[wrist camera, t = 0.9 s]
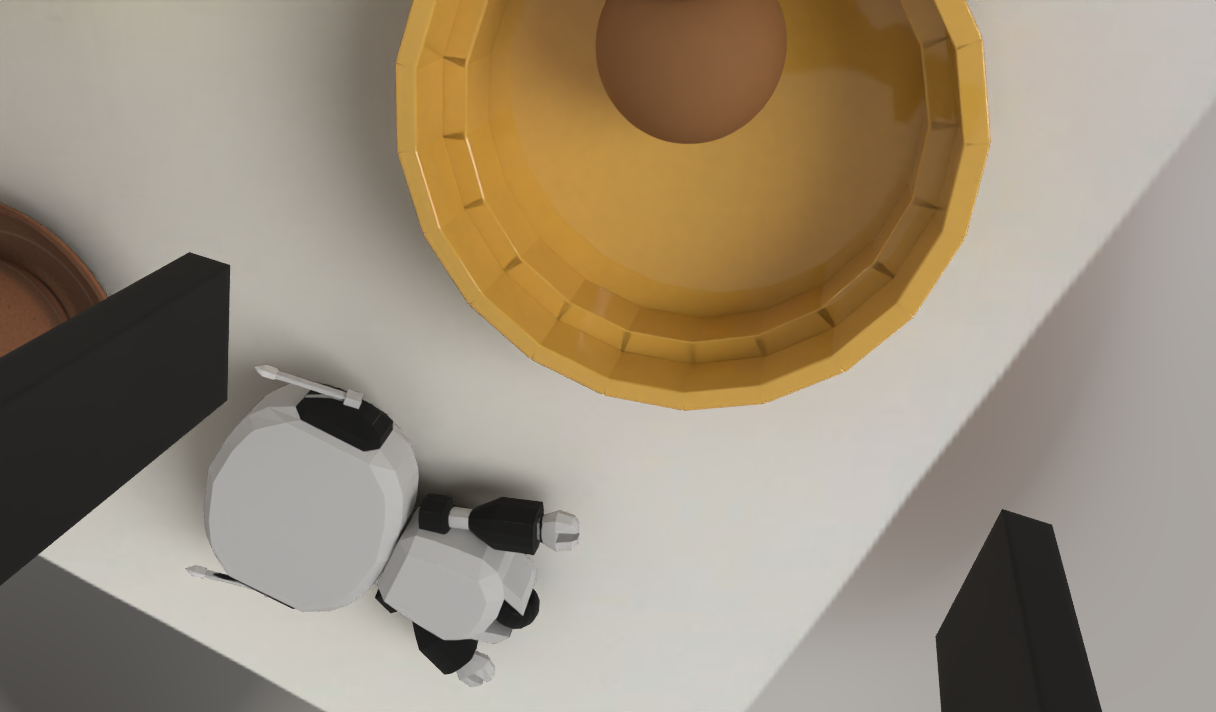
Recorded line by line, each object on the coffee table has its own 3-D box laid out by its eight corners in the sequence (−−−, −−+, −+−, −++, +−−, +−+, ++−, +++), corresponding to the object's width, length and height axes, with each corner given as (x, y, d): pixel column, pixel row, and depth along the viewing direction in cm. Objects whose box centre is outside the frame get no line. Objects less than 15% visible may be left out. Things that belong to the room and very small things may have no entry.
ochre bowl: (457, -204, 30) (387, -217, 26) (1040, -157, 27) (1071, -163, 23) (454, 302, 38) (400, 357, 34) (904, 383, 35) (908, 454, 31)
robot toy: (610, 479, 41) (290, 315, 40) (590, 547, 37) (234, 367, 36) (500, 653, 47) (219, 514, 46) (473, 727, 43) (165, 577, 42)
